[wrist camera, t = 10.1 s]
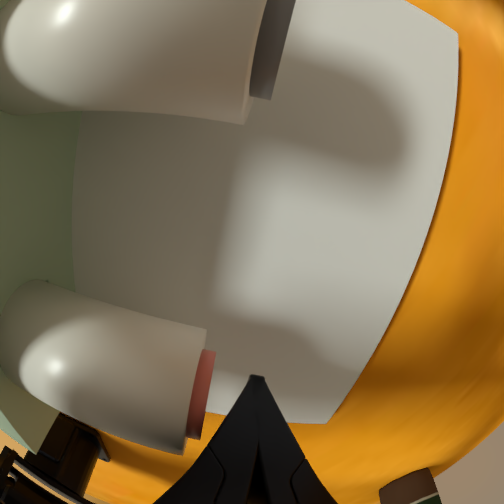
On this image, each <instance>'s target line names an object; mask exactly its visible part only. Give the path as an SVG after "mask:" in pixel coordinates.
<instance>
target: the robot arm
mask: <svg viewBox="0 0 504 504" xmlns="http://www.w3.org/2000/svg"><path fill="white" fill-rule="evenodd" d="M98 458H99V459H101V460H103V461H106V462H110V457H109V455H108V453H107V451H106V449H105V447H104V445H103V443H102V441H101V438H100V436H99V434H98V433H97V432H96V431H94V430H92V429H90V428H88V427H86V426H83V425H81V424H79V423H77V422H75V421H73V420H71V419H69V418H67V417H65V416H63V415H61V414H58V416H57V417H56V419H55V421H54V423H53V425H52V426H51V428H50V430H49V432H48V434H47V435H46V437H45V439H44V441H43V443H42V445H41V447H40V448H39V450H38V452H37V454H34V453H33V452H31V451H30V450H28V451H27V453H26V455H25V457H24V459H23V458H22V457H20V456H19V455H18V453H17V452H16V451H14V450H11V449H10V448H8V447H7V446H5V447H4V448H3V450H2V452H1V454H0V504H68V503H67V502H65V501H63V500H61V499H60V498H58V497H56V496H55V495H53V494H51V493H50V492H48V491H47V490H45V489H44V488H42V487H40V486H39V485H37V484H36V483H34V482H33V481H32V480H30V479H29V478H27V477H26V476H25V475H23V474H22V473H21V472H19V471H18V470H17V469H15V468H14V467H13V466H12V465H13V463H15V464H17V465H18V466H19V467H20V468H22V469H23V470H24V471H26V472H27V473H28V474H30V475H31V476H33V477H34V478H35V479H37V480H38V481H40V482H41V483H43V484H44V485H46V486H47V487H49V488H50V489H52V490H54V491H55V492H57V493H58V494H60V495H62V496H63V497H65V498H67V499H69V500H70V501H72V502H74V503H76V504H95V503H92V502H90V501H88V500H86V499H84V498H83V496H84V494H85V491H86V488H87V485H88V483H89V480H90V477H91V475H92V472H93V469H94V467H95V464H96V462H97V459H98ZM8 474H10V475H11V476H12V477H14V478H15V479H14V478H12V477H8V476H7V475H8ZM153 504H338V503H337V502H336V501H335V500H334V498H333V497H332V496H331V495H330V494H329V492H328V491H327V490H326V488H325V487H324V486H323V484H322V483H321V482H320V480H319V479H318V477H317V475H316V474H315V472H314V471H313V469H312V467H311V466H310V464H309V462H308V460H307V459H305V455H304V453H303V452H302V450H301V448H300V446H299V444H298V442H297V441H296V439H295V437H294V435H293V433H292V431H291V430H290V428H289V426H288V424H287V422H286V420H285V418H284V416H283V415H282V413H281V411H280V409H279V407H278V405H277V403H276V401H275V399H274V397H273V395H272V393H271V391H270V389H269V387H268V385H267V383H266V381H265V377H264V376H260V375H255V374H251V375H249V378H248V381H247V384H246V385H245V387H244V389H243V390H242V392H241V394H240V395H239V397H238V398H237V400H236V402H235V403H234V405H233V406H232V408H231V410H230V411H229V413H228V414H227V416H226V417H225V419H224V420H223V422H222V424H221V425H220V427H219V428H218V430H217V431H216V433H215V434H214V436H213V437H212V439H211V440H210V442H209V443H208V445H207V447H205V449H204V450H203V452H202V453H201V455H200V456H199V457H198V459H197V460H196V461H195V462H194V464H193V465H192V466H191V467H190V469H189V470H188V471H187V472H186V473H185V474H184V475H183V476H182V477H181V478H180V479H179V480H178V481H177V482H176V483H175V484H174V485H173V486H172V487H171V488H169V489H168V490H167V491H166V492H165V493H164V494H163V495H162V496H161V497H160V498H158V499H157V500H156V501H155V502H154V503H153Z"/></svg>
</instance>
